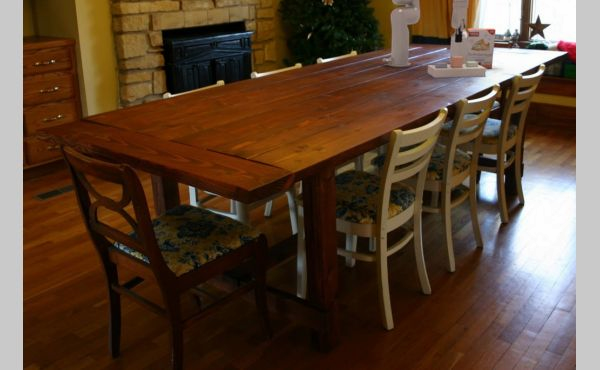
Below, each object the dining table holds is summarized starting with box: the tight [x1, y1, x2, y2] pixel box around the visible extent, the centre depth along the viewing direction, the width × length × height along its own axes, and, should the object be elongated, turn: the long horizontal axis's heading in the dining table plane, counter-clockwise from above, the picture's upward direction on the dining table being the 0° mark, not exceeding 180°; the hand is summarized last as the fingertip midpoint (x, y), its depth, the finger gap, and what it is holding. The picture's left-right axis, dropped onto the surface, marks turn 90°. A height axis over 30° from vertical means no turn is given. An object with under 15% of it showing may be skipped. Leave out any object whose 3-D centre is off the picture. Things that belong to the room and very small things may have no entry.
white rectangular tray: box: [427, 64, 487, 79], centre depth 320 cm, size 26×14×4 cm, turn 94°
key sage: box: [466, 61, 478, 67], centre depth 320 cm, size 5×5×5 cm
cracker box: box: [465, 27, 496, 70], centre depth 335 cm, size 14×6×21 cm, turn 82°
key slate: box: [434, 61, 448, 68], centre depth 319 cm, size 5×5×5 cm
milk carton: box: [449, 28, 468, 64], centre depth 350 cm, size 7×7×19 cm
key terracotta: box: [449, 56, 463, 68], centre depth 319 cm, size 5×5×5 cm
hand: (458, 42), depth 315 cm, fingers closed
